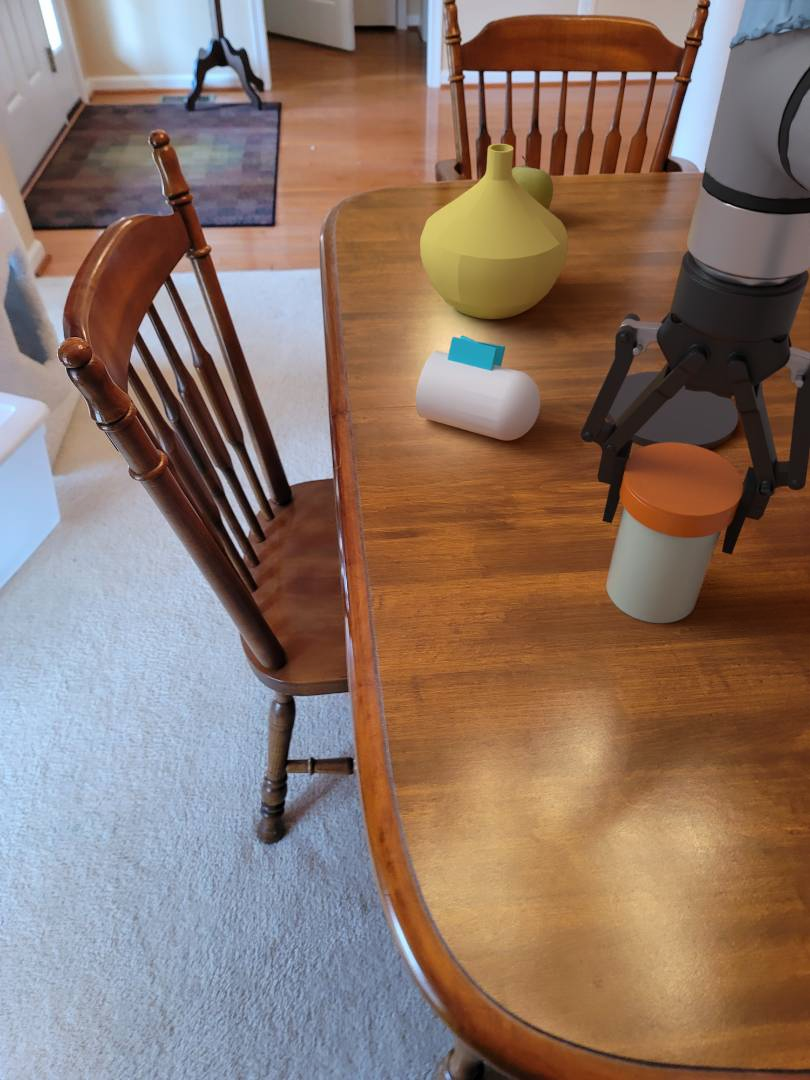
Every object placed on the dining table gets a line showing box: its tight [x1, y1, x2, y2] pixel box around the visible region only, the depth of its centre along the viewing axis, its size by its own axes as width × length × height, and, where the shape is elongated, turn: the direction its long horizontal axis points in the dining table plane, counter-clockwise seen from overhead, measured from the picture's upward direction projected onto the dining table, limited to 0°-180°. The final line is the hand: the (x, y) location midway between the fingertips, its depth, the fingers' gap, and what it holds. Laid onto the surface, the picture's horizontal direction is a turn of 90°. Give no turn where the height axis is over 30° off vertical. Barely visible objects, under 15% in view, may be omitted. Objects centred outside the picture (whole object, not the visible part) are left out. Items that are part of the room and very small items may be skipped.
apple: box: [512, 155, 554, 211], centre depth 124 cm, size 8×8×10 cm
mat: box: [605, 370, 739, 451], centre depth 90 cm, size 14×14×1 cm
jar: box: [605, 505, 722, 624], centre depth 67 cm, size 8×8×12 cm
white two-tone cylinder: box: [415, 334, 541, 441], centre depth 88 cm, size 12×9×12 cm
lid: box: [619, 442, 744, 538], centre depth 64 cm, size 9×9×2 cm
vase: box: [419, 143, 569, 320], centre depth 102 cm, size 18×18×19 cm
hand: (668, 526), depth 67 cm, fingers closed on lid, 9 cm apart
